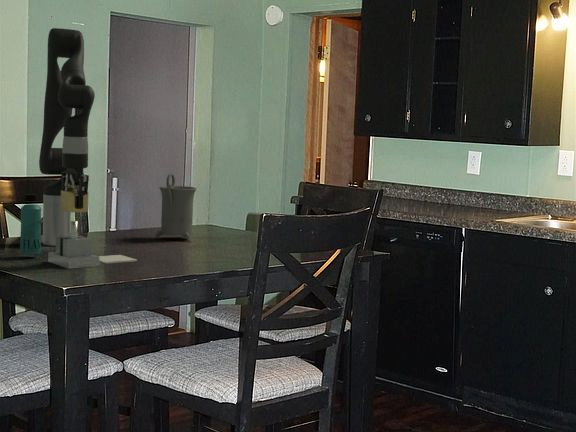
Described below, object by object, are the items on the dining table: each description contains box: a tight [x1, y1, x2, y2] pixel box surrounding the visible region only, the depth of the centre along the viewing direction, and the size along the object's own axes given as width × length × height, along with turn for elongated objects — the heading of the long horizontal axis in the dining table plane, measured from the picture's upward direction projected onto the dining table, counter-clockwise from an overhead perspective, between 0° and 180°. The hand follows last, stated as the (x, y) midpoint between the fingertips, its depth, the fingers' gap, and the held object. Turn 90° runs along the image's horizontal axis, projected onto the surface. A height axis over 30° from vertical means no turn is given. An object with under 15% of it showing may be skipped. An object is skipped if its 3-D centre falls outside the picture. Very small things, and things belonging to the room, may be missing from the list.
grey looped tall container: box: [153, 172, 197, 243], centre depth 342 cm, size 19×15×25 cm
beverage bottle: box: [19, 193, 43, 255], centre depth 288 cm, size 6×7×20 cm
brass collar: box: [61, 190, 89, 213], centre depth 278 cm, size 6×6×6 cm
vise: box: [47, 220, 100, 269], centre depth 280 cm, size 14×10×13 cm
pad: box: [98, 254, 138, 264], centre depth 291 cm, size 11×11×1 cm
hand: (74, 207), depth 279 cm, fingers closed on brass collar, 6 cm apart
